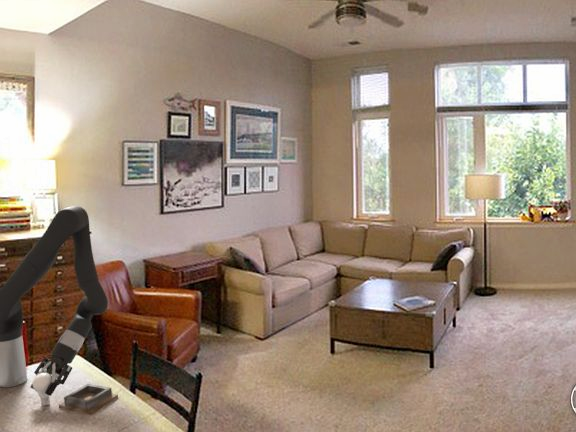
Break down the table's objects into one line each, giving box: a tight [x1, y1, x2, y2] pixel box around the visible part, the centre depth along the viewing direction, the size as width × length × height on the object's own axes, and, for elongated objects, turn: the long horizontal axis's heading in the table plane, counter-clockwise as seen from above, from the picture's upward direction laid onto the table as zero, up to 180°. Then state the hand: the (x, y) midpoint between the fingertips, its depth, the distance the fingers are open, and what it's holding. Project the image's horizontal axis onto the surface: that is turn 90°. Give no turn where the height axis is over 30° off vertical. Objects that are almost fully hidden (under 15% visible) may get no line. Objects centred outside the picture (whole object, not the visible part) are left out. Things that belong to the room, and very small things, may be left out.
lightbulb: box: [31, 373, 53, 406], centre depth 169 cm, size 6×6×11 cm
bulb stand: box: [58, 383, 119, 416], centre depth 169 cm, size 14×12×4 cm
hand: (40, 391), depth 168 cm, fingers open, 8 cm apart
